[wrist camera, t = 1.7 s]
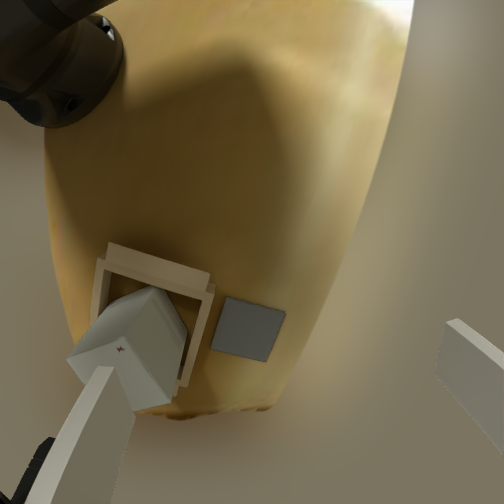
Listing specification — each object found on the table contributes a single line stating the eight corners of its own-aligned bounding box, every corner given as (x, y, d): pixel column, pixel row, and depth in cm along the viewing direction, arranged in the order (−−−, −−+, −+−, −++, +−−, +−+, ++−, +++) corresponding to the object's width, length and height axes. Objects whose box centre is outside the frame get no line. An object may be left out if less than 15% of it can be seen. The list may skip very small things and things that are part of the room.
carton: (95, 354, 34) (87, 366, 31) (111, 233, 30) (100, 239, 27) (186, 384, 36) (184, 399, 33) (221, 267, 32) (220, 276, 29)
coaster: (210, 346, 34) (210, 348, 34) (226, 296, 33) (226, 297, 32) (265, 359, 35) (265, 362, 35) (284, 311, 34) (285, 313, 33)
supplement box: (110, 300, 32) (61, 356, 20) (161, 278, 32) (125, 334, 20) (139, 350, 34) (108, 418, 22) (190, 333, 34) (173, 404, 22)
